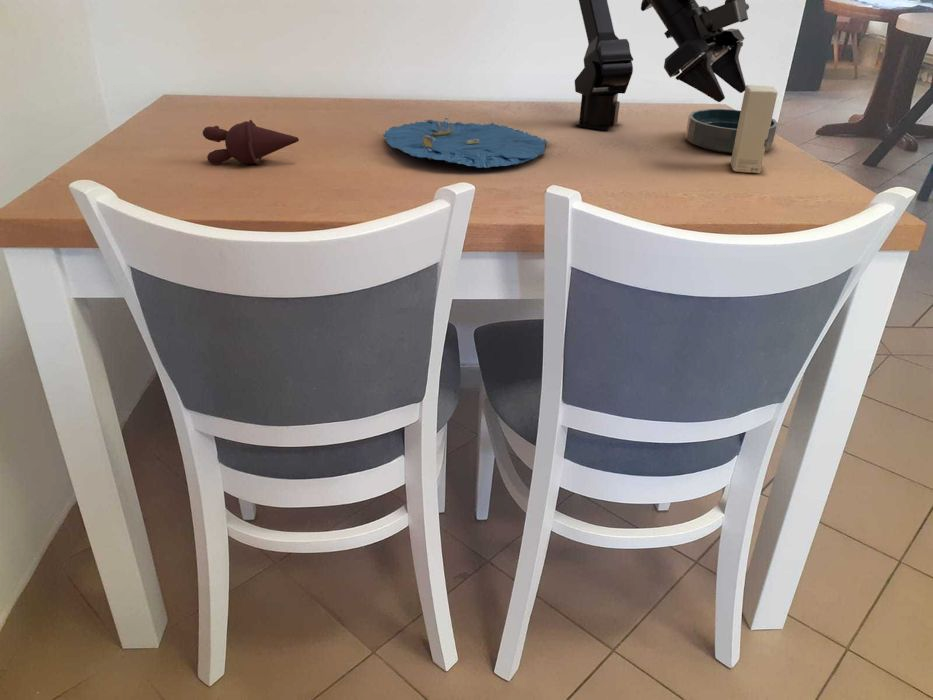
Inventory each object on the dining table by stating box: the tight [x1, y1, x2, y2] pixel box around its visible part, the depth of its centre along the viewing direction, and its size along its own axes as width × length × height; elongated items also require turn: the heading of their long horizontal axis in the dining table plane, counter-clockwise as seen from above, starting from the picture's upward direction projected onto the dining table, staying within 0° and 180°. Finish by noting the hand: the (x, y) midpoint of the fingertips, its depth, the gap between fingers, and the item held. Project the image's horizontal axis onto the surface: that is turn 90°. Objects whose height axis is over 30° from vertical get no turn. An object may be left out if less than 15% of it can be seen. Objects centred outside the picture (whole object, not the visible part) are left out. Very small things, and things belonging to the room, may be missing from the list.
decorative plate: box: [382, 116, 549, 169], centre depth 128 cm, size 30×30×5 cm
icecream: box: [202, 119, 300, 165], centre depth 117 cm, size 7×7×15 cm
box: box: [730, 84, 779, 174], centre depth 119 cm, size 5×4×13 cm
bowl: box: [684, 108, 779, 154], centre depth 134 cm, size 15×15×4 cm
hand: (733, 95), depth 119 cm, fingers open, 9 cm apart
